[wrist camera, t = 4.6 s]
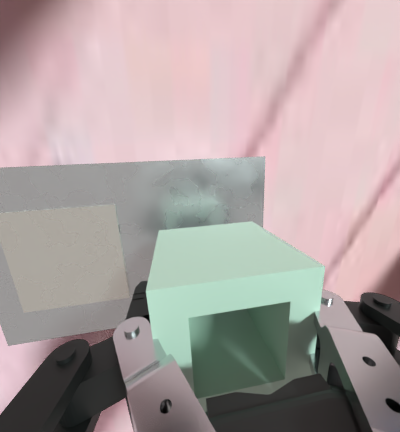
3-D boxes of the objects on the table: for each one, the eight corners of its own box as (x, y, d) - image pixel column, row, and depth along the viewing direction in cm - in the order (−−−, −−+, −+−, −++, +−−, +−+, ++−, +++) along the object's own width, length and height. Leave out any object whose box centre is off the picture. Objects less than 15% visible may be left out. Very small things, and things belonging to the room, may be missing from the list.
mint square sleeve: (252, 221, 12) (325, 266, 6) (251, 300, 14) (310, 395, 8) (159, 230, 11) (145, 291, 6) (168, 313, 13) (165, 429, 7)
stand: (256, 157, 16) (332, 146, 9) (253, 294, 20) (306, 370, 12) (-33, 170, 13) (-301, 168, 6) (22, 330, 17) (-101, 463, 9)
